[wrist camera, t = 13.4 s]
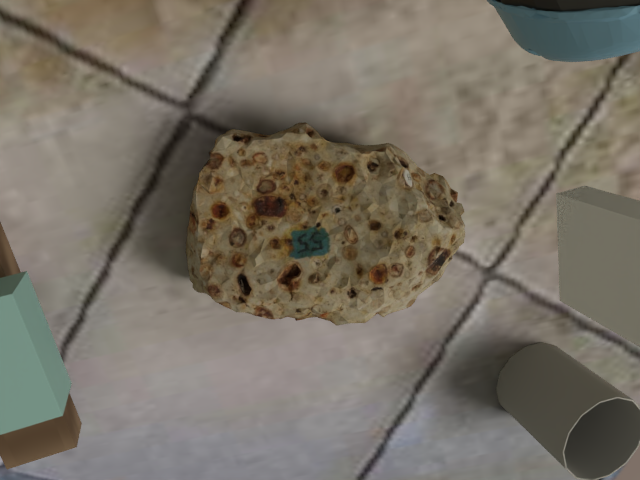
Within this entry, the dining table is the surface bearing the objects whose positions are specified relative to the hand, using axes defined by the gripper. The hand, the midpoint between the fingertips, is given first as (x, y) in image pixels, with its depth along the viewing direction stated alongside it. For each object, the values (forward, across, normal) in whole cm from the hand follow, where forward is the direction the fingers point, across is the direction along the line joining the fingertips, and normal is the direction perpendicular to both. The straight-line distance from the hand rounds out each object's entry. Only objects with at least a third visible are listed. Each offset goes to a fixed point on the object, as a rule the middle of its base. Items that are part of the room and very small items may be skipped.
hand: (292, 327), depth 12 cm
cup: (+32, +27, -31) cm, 52 cm away
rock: (+32, +8, -8) cm, 34 cm away
